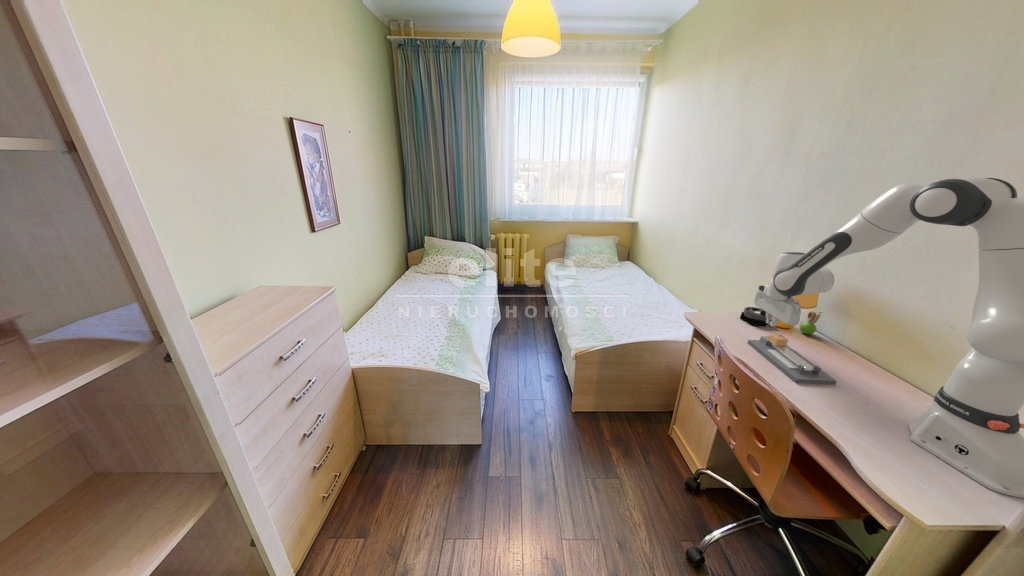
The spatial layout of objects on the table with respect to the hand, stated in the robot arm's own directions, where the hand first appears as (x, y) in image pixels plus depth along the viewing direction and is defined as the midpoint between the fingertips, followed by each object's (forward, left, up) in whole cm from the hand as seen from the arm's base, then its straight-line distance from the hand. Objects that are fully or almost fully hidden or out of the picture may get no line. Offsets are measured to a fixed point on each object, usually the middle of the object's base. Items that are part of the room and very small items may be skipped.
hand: (770, 324), depth 130 cm
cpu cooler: (+21, -9, -9) cm, 24 cm away
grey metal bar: (-14, 0, -6) cm, 16 cm away
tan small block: (-6, 0, -5) cm, 8 cm away
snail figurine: (+10, -24, -9) cm, 28 cm away
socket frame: (-13, 0, -9) cm, 16 cm away
